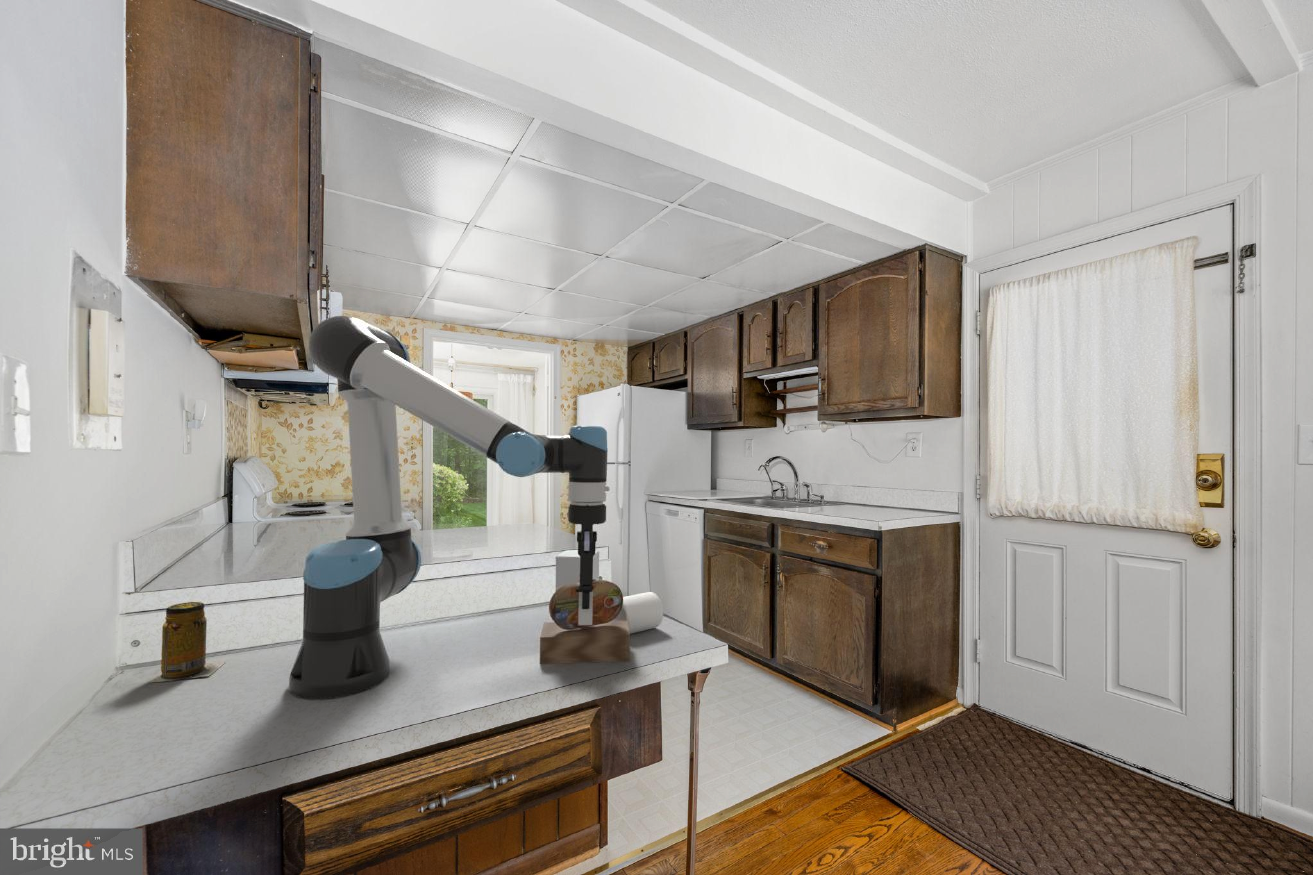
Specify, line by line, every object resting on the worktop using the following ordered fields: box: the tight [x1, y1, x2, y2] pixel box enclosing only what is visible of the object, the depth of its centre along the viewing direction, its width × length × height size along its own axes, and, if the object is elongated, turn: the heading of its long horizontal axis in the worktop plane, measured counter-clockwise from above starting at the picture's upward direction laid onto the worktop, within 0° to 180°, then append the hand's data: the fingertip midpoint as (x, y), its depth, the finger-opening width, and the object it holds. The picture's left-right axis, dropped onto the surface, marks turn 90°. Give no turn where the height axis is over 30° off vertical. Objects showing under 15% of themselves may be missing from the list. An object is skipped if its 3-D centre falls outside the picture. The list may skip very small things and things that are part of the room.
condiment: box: [149, 601, 226, 683], centre depth 99 cm, size 7×8×12 cm
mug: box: [612, 591, 664, 635], centre depth 127 cm, size 12×10×8 cm
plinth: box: [539, 621, 631, 665], centre depth 111 cm, size 17×9×5 cm, turn 97°
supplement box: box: [555, 549, 600, 592], centre depth 138 cm, size 9×9×15 cm
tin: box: [548, 579, 624, 630], centre depth 111 cm, size 15×3×8 cm, turn 118°
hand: (585, 620), depth 111 cm, fingers closed on tin, 4 cm apart
